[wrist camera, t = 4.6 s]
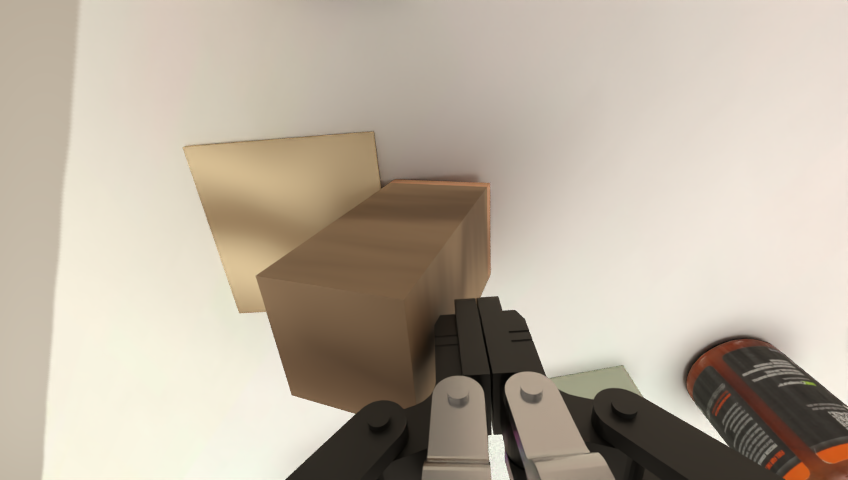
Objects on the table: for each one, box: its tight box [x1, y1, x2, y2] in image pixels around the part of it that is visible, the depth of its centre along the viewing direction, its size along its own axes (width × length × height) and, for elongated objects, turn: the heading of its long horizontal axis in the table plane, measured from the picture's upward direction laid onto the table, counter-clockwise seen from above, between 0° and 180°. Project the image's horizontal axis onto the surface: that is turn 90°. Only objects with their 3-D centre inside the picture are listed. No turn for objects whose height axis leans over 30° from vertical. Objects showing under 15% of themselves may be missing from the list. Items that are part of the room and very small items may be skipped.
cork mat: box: [183, 131, 381, 313], centre depth 21 cm, size 10×10×1 cm
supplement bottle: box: [687, 339, 848, 480], centre depth 20 cm, size 6×6×11 cm
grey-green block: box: [549, 365, 643, 399], centre depth 24 cm, size 5×5×6 cm
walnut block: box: [256, 179, 491, 414], centre depth 16 cm, size 5×5×10 cm
